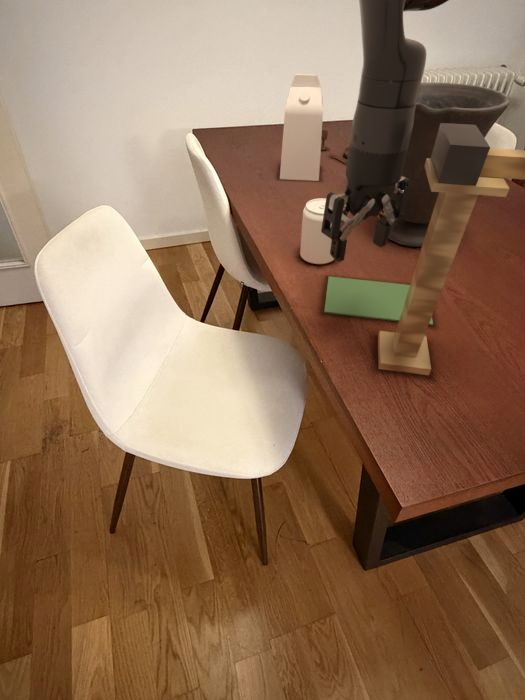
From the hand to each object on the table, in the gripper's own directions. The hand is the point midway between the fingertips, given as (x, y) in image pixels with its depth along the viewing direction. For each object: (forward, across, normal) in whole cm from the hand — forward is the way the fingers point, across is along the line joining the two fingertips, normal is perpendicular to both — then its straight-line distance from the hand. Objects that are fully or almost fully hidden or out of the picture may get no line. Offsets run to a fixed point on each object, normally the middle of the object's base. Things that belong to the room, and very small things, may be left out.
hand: (358, 251), depth 63 cm
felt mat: (+15, +10, +3) cm, 18 cm away
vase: (+15, +35, +18) cm, 42 cm away
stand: (+15, +3, -11) cm, 19 cm away
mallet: (-15, +7, -14) cm, 22 cm away
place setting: (+15, +61, +70) cm, 94 cm away
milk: (+15, +35, +65) cm, 75 cm away
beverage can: (+15, +10, +22) cm, 28 cm away
